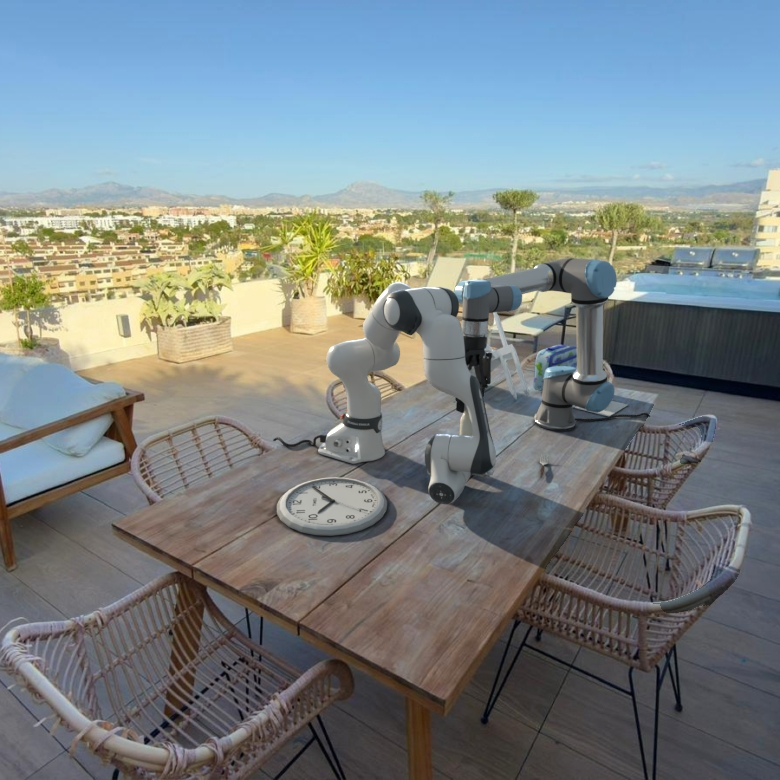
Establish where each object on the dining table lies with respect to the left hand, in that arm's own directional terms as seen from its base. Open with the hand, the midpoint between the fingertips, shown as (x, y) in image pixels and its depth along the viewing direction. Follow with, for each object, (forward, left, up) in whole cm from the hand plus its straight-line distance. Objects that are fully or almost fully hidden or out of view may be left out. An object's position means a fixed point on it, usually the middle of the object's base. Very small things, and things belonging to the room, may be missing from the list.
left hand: (466, 451), depth 163 cm
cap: (0, -1, +16) cm, 16 cm away
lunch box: (+19, +102, -6) cm, 104 cm away
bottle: (0, -1, -6) cm, 6 cm away
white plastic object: (-13, +83, -6) cm, 84 cm away
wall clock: (-29, -36, -6) cm, 46 cm away
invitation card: (+40, +84, -6) cm, 93 cm away
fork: (+23, +10, -6) cm, 26 cm away
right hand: (0, -1, +14) cm, 14 cm away
